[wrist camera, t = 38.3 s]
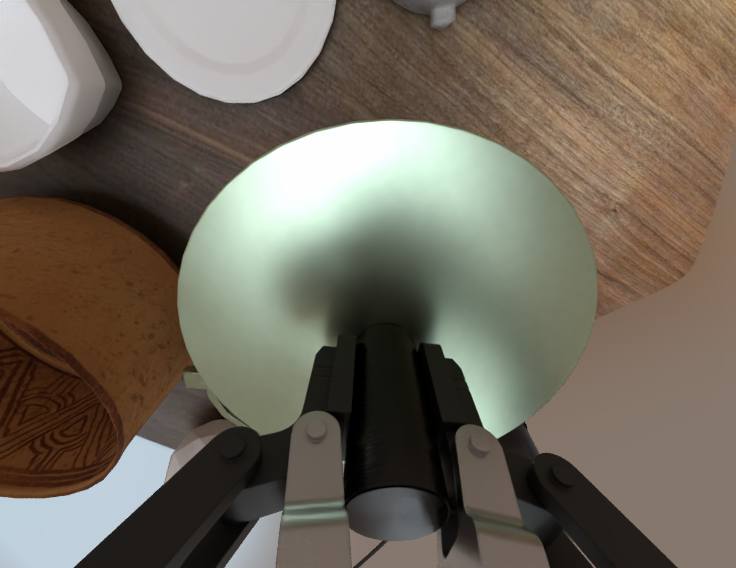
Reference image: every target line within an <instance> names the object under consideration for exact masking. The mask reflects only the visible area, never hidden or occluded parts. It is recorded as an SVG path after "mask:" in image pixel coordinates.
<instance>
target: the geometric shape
mask: <svg viewBox="0 0 736 568" xmlns="http://www.w3.org/2000/svg"><path fill="white" fill-rule="evenodd" d="M232 427H237V425H235V424H234V423H232V422H231V421H229V420H227V419H219V420H213V421H210V422H208V423H206V424H204V425H202V426H199V427H197V428H195V429H193V430H191V431H190V432H189V433H188V435H187V436H186V437H185V439H184V440H183V441H182V442H181V444H180V445H179V446H178V448H177V449H176V450H175V451H174V453H173V454H172V455H171V458H170V462H169V466H168V470H167V474H166V478H165V482H164V484H165V483H166V482H167V481H168V480H169V479H170V478H171V477H172V476H173V475H174V474H175V473H176V472H178V471H179V470H180V469H181V468H182V467H183V466H184V465H185V464H186V463H187V462H188V461H189V460H191V459H192V458H193V457H194V456H195V455H196V454H197V453H198V452H199V451H200V450H201V449H202V448H204V447H205V446H206V445H207V444H208V443H209V442H210V441H211V440H212V439H213V438H214V437H216V436H217V435H218V434H219V433H221V432H223V431H224V430H227V429H229V428H232Z"/></svg>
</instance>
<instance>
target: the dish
mask: <svg viewBox="0 0 736 568" xmlns="http://www.w3.org/2000/svg"><path fill="white" fill-rule="evenodd" d="M392 1H394V2H395V3H397V4H398V5H400V6H401V7H403V8H405V9H407V10H409V11H412V12H415V13H418V14H423V15H430V21H429V25H430V27H431V28H433V29H440V30H444V29H445V28H446V27H447V26H449V25H450V24H451V23H453V22H455V20H456V17H457V16H456V10H455V7H458V6H459V5H461V4H462V3H464V2H466V1H467V0H392Z"/></svg>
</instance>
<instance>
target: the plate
mask: <svg viewBox="0 0 736 568" xmlns="http://www.w3.org/2000/svg"><path fill="white" fill-rule="evenodd" d="M111 1H112V3H113V5H114V7H115V9H116V11H117V13H118V15H119V17H120V19H121V21H122V23H123V24H124V25H125V27H126V28H127V29H128V31H129V32H130V33H131V35H132V36H133V37H134V39H135V40H136V41H137V43H138V44H139V45H140V47H141V48H142V49H143V51H144V52H145V53H146V54H147V55H148V56H149V57H150V58H151V59H152V60H153V61H154V62H155V63H156V64H157V65H159V66H160V67H161V68H162V69H163V70H164V71H165V72H166V73H167V74H168V75H169V76H170V77H172V78H173V79H174V80H176V81H178V82H179V83H181V84H183V85H185V86H186V87H188V88H190V89H191V90H193V91H195V92H196V93H198V94H200V95H203V96H206V97H210V98H213V99H216V100H220V101H223V102H227V103H256V102H259V101H262V100H265V99H268V98H271V97H274V96H277V95H280V94H282V93H283V92H284V91H285V90H287V89H288V88H289V87H291V86H292V85H293V84H295V83H296V82H297V81H299V80H300V79H301V78H302V77H303V76H304V75H305V73H306V72H307V71H308V69H309V68H310V67H311V65H312V64H313V62H314V61H315V60H316V58H317V57H318V56H319V54H320V52H321V50H322V47H323V45H324V42H325V40H326V37H327V35H328V32H329V30H330V27H331V25H332V22H333V18H334V12H335V5H336V0H111Z"/></svg>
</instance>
